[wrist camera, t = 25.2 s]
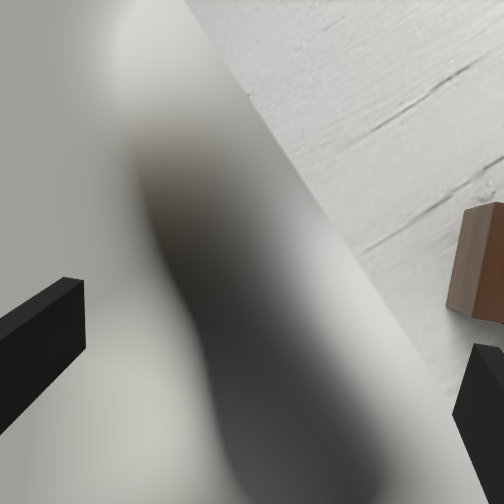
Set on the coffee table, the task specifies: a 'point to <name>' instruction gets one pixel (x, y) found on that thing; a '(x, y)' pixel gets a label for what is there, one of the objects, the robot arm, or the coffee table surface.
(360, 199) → the coffee table surface
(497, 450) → the robot arm
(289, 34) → the coffee table surface
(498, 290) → the walnut block
